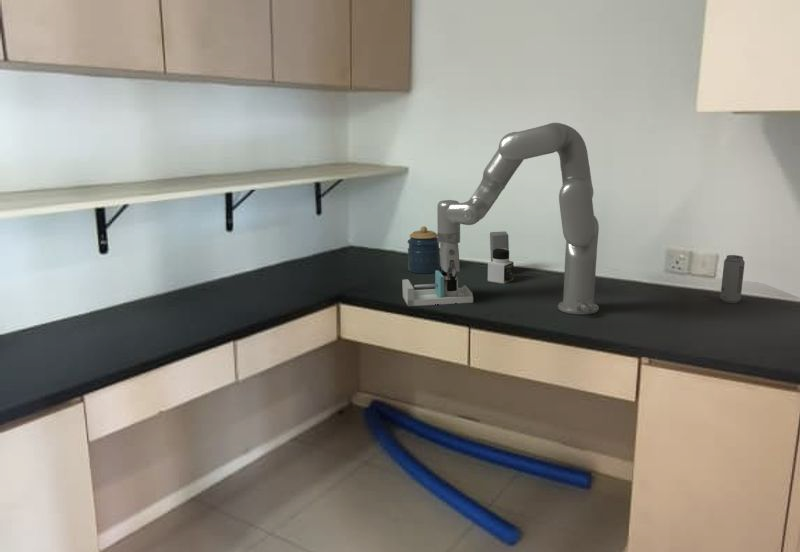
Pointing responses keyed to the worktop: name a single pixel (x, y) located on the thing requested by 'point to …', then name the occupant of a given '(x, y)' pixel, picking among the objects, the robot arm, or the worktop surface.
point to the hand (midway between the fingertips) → (448, 287)
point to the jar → (449, 293)
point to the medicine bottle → (500, 267)
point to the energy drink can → (732, 279)
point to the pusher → (436, 284)
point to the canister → (423, 252)
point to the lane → (432, 296)
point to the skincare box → (498, 241)
